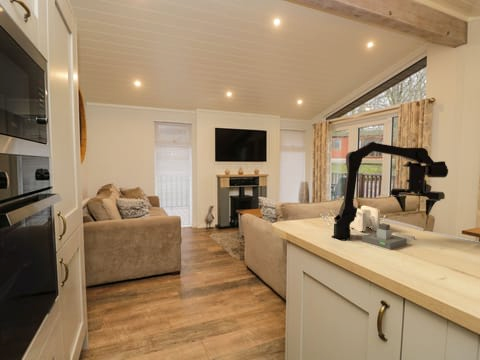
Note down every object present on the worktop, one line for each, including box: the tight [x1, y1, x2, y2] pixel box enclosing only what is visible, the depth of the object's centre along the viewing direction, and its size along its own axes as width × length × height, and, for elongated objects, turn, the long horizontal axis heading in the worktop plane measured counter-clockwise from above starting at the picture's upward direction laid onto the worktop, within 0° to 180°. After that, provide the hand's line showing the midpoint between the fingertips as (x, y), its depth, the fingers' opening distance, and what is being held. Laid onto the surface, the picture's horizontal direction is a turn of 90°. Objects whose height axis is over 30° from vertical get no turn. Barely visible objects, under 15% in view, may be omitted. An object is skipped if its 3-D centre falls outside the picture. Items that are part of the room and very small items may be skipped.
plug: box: [376, 222, 393, 240], centre depth 108 cm, size 4×4×8 cm
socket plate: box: [361, 231, 408, 251], centre depth 108 cm, size 12×12×3 cm
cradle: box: [393, 231, 416, 242], centre depth 115 cm, size 8×8×2 cm
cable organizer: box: [350, 205, 381, 232], centre depth 131 cm, size 15×11×12 cm
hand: (415, 213), depth 110 cm, fingers open, 9 cm apart
